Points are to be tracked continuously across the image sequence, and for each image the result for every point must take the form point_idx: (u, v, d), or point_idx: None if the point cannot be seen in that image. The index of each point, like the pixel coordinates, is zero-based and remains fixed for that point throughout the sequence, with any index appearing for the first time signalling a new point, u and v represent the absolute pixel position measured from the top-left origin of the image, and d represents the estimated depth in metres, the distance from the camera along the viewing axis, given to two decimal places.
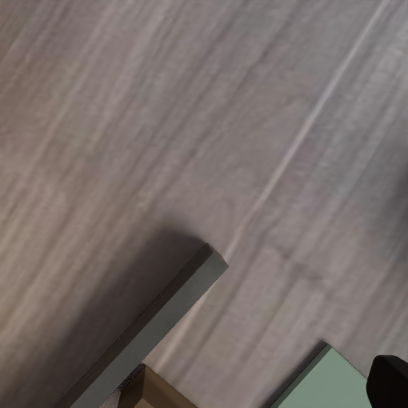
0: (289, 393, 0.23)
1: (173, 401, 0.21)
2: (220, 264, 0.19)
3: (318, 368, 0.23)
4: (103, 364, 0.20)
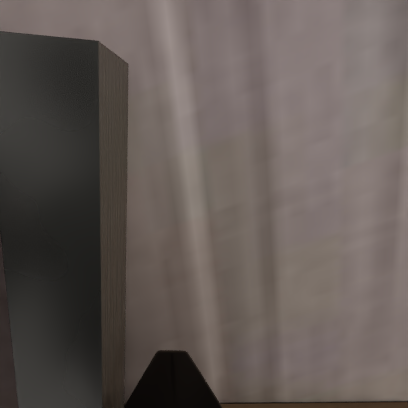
0: None
1: None
2: (57, 61, 0.04)
3: None
4: None
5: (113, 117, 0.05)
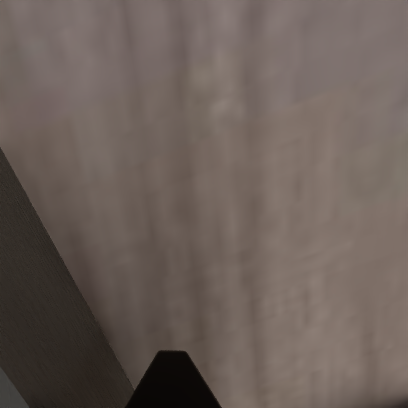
0: None
1: None
2: None
3: None
4: None
5: None
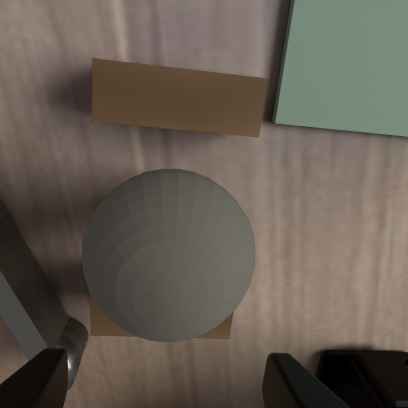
0: None
1: None
2: None
3: None
4: None
5: None
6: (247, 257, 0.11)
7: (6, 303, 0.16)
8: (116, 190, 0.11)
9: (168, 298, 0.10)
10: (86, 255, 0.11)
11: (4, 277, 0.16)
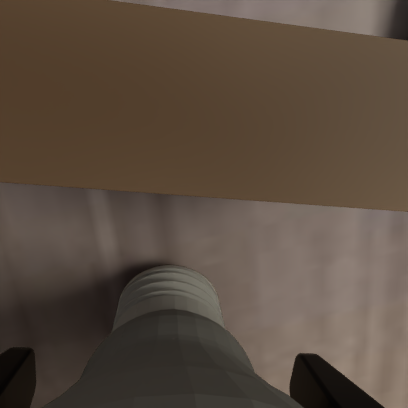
0: None
1: None
2: None
3: None
4: None
5: None
6: None
7: None
8: None
9: None
10: None
11: None
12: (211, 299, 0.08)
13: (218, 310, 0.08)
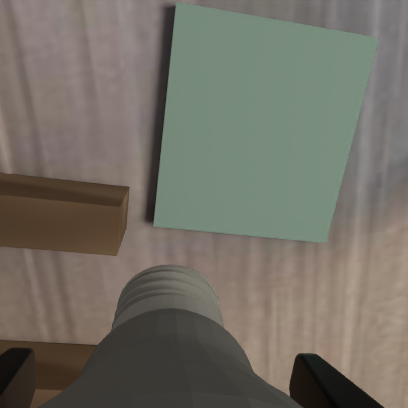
0: (166, 97, 0.17)
1: (29, 184, 0.17)
2: None
3: (178, 41, 0.16)
4: None
5: None
6: None
7: None
8: None
9: None
10: None
11: None
12: (210, 298, 0.08)
13: (217, 309, 0.08)
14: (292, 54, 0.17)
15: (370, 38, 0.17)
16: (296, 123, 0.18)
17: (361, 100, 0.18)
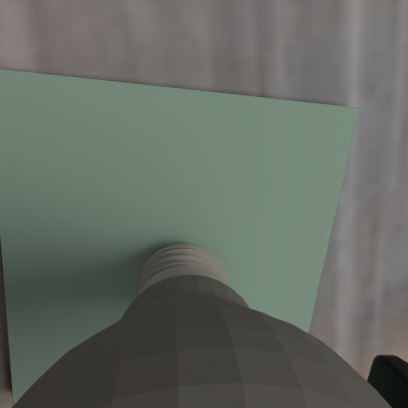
0: (1, 222, 0.10)
1: None
2: None
3: (4, 134, 0.09)
4: None
5: None
6: None
7: None
8: None
9: None
10: None
11: None
12: (221, 271, 0.10)
13: (227, 281, 0.10)
14: (210, 143, 0.10)
15: (344, 109, 0.10)
16: (228, 247, 0.11)
17: (335, 205, 0.11)
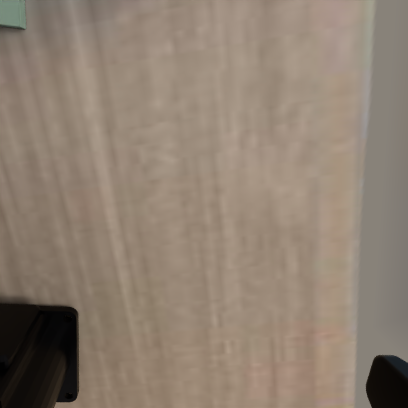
0: None
1: None
2: None
3: None
4: None
5: None
6: None
7: None
8: None
9: None
10: None
11: None
12: None
13: None
14: None
15: None
16: None
17: None
